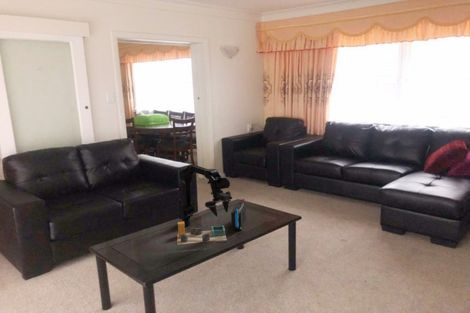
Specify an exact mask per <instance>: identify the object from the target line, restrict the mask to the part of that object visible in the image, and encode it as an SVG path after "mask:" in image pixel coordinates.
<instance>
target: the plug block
mask: <svg viewBox="0 0 470 313" xmlns="http://www.w3.org/2000/svg"><path fill="white" fill-rule="evenodd" d="M177 231H178V234H179V238H181V237H180V235H181V234H185V233H186V227H185V224H184V222H182V221H177Z"/></svg>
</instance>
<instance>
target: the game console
mask: <svg viewBox="0 0 470 313" xmlns="http://www.w3.org/2000/svg"><path fill="white" fill-rule="evenodd" d="M230 217H231V218H230V219H231V230H234V231H236V230H237V231H238V230H239V231H242V230H243V227H244V225H245V224H246V222H247V218H248V217H247V203H246V200H245V199H244V198H242V199H241V200H240V202H239V203H238V202H237V203H236V204H235V206H234V207H233V209H232V211H231V212H230Z"/></svg>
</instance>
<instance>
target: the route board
mask: <svg viewBox="0 0 470 313" xmlns="http://www.w3.org/2000/svg"><path fill="white" fill-rule="evenodd" d="M176 236H177V238H176V239H177V240H176V244H177V245H187V244H196V243H206V242H207V243H208V242H215V243H222V242H227V241H228V239H227V236H226V228H225V226H224V225H223V224H222V225H214V226H212V225H211V230H203V228H202V227H198V228H197V227H190V232H185V234H181V235H180V237H181V238H179V233H177V234H176Z"/></svg>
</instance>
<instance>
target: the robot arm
mask: <svg viewBox="0 0 470 313" xmlns="http://www.w3.org/2000/svg"><path fill="white" fill-rule="evenodd" d="M195 174H199V175H201V176H204V178H205V179H207V180H208V181H207V185H208V184H209V185H210V190H211V192H210V195H212V200H208V201H206V202H205V203H204V205H205V208H207V209H209V210H210V211H211V213H212V214H213V215H214V216H215V217H218V213H217V204H218V203H221V204H222V206H223V209H224V211H225V213H228V210H229V204H230V202H231V201H232V199H233V196H232V194H231V192H230V191H226V192H224V189H229V188H230V186H231V182H230V180H229V179H228V178H227V177H226V176H224V177H223V175H221V173H220V172H219V171H218V169H216V168H206V167H203V166H200V165H197V164H194V163H193V164H190V165H188V166H187V167H186V168H184V169H183V170H181V171H180V172H179V180H180V182H181V183H182V200H183V202H182V203H183V204H182V205H181V208H180V213H179V214H178V216H177V217H178V219H180V220H181V222H184V224H185V228H187V227H190V226H191V225H192V223H191V218H192V217H194V216H193V215H194V213H195V206H194V205H192V201H191V200H192V199H191V182H192V180H193V175H195Z"/></svg>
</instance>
